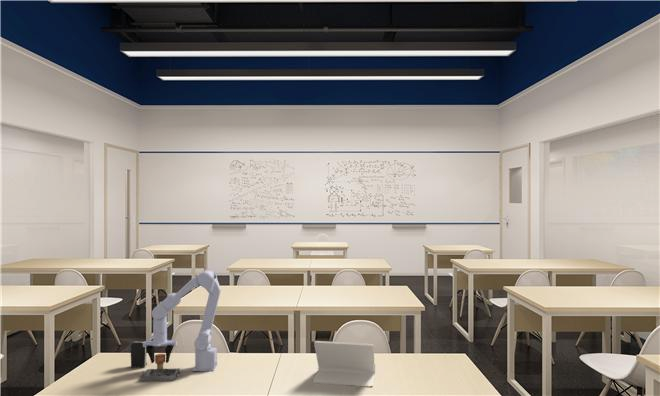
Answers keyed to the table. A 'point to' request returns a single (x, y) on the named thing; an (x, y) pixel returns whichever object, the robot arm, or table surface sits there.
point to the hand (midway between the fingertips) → (160, 362)
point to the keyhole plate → (160, 375)
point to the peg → (159, 360)
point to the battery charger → (138, 354)
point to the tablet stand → (345, 363)
